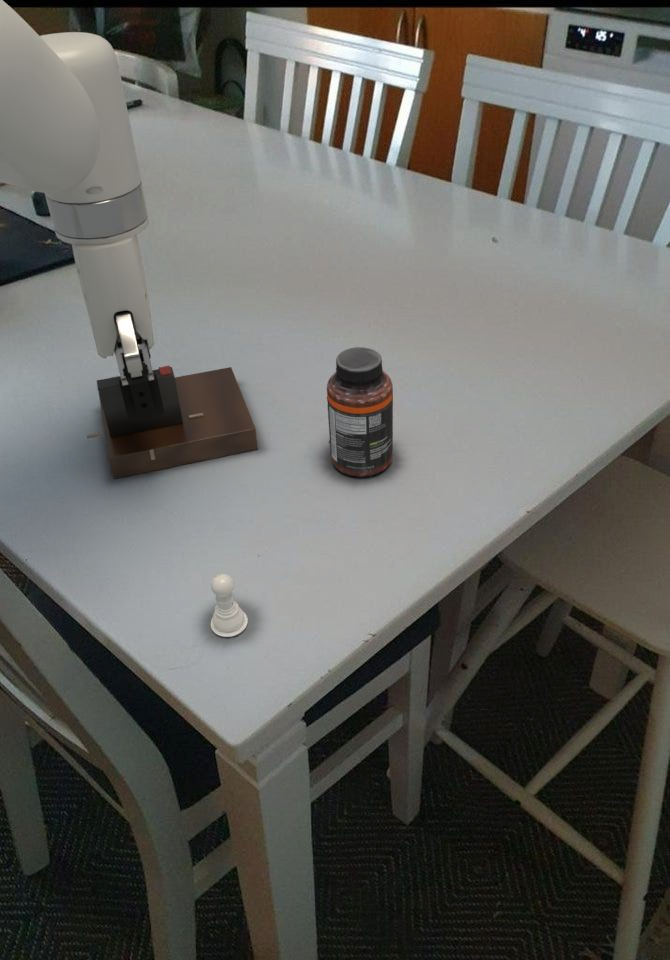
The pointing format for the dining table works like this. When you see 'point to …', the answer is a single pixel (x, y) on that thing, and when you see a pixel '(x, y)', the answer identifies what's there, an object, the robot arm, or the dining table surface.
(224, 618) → the chess pawn
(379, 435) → the supplement bottle
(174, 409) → the dark battery block
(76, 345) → the dining table surface
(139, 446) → the panel
